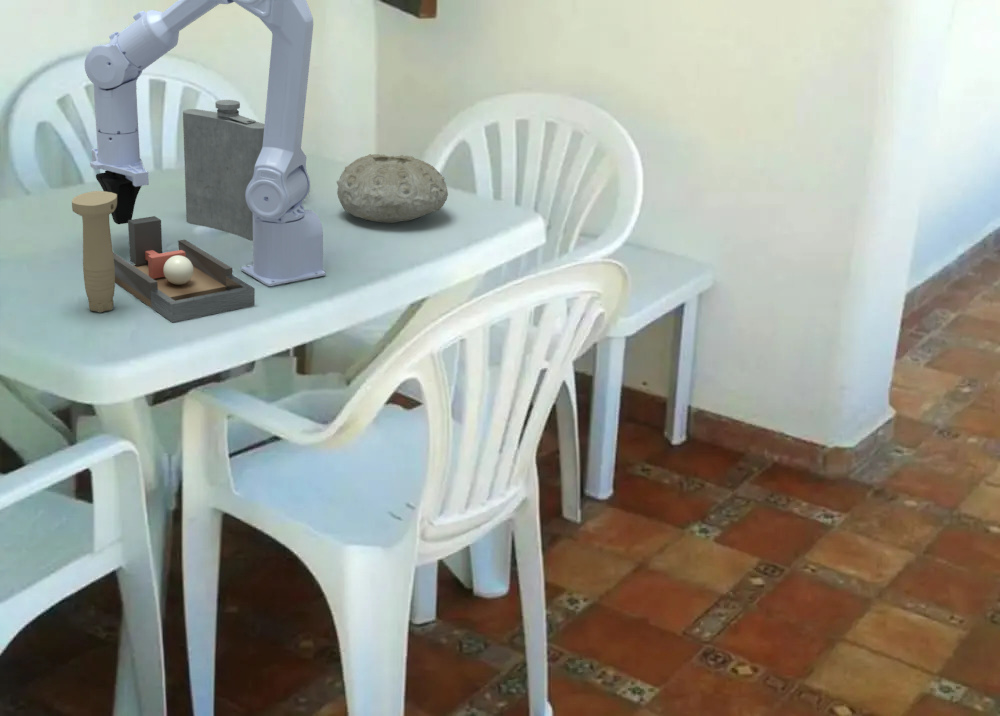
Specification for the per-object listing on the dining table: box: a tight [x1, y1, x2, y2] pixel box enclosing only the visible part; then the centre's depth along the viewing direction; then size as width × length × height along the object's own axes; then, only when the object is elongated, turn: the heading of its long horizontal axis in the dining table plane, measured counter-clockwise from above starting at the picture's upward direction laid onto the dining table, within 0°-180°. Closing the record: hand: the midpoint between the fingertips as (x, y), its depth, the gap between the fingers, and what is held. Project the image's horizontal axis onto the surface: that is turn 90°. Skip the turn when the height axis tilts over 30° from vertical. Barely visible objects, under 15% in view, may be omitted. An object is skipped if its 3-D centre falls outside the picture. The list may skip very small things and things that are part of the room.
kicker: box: [127, 215, 186, 279], centre depth 187 cm, size 5×8×6 cm, turn 39°
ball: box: [163, 255, 194, 285], centre depth 182 cm, size 4×4×4 cm
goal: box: [150, 274, 256, 324], centre depth 178 cm, size 12×6×2 cm, turn 129°
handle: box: [71, 190, 117, 313], centre depth 173 cm, size 5×6×15 cm
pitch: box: [113, 239, 234, 308], centre depth 185 cm, size 12×14×4 cm
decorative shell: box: [336, 153, 449, 224], centre depth 218 cm, size 18×18×10 cm
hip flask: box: [182, 99, 265, 242], centre depth 206 cm, size 16×4×20 cm, turn 58°
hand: (122, 222), depth 194 cm, fingers closed
